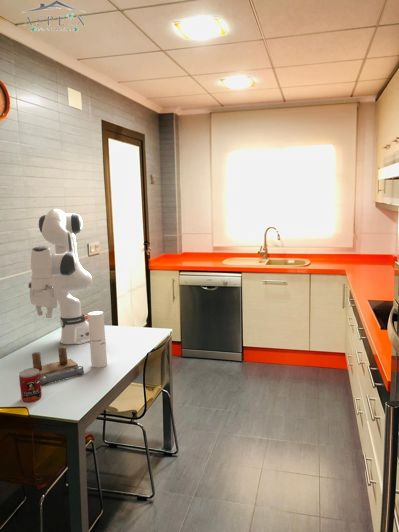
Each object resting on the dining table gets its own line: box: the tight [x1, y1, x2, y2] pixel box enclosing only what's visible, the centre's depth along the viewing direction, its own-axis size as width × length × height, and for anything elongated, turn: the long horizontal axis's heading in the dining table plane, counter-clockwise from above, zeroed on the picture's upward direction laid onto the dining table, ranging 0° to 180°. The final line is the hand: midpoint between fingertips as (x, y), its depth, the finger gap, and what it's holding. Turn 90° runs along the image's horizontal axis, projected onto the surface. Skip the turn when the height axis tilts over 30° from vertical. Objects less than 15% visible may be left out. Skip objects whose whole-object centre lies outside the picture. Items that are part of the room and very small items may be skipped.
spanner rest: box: [24, 345, 79, 376], centre depth 209 cm, size 22×10×9 cm, turn 126°
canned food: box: [18, 367, 43, 403], centre depth 179 cm, size 8×8×11 cm
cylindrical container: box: [87, 310, 108, 368], centre depth 212 cm, size 7×7×25 cm
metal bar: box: [40, 365, 85, 387], centre depth 198 cm, size 20×4×3 cm, turn 126°
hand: (44, 316), depth 195 cm, fingers open, 8 cm apart
